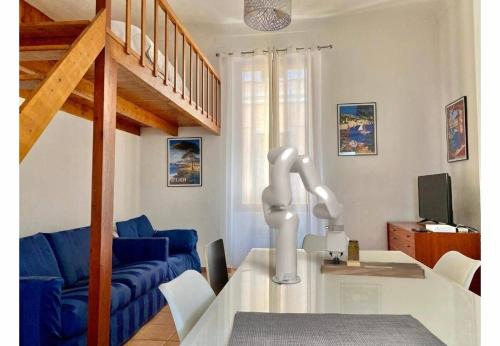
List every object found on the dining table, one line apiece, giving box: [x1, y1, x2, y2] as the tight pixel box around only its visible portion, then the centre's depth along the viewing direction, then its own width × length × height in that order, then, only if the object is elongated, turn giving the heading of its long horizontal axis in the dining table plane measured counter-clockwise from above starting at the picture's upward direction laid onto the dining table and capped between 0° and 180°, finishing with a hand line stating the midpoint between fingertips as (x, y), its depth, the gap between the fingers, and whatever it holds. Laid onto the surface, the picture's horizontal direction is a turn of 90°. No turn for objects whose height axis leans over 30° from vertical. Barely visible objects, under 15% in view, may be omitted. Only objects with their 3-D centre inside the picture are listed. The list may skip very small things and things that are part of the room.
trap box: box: [321, 259, 426, 280], centre depth 180 cm, size 12×46×4 cm, turn 78°
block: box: [345, 260, 361, 266], centre depth 182 cm, size 6×6×5 cm
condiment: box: [347, 239, 360, 262], centre depth 203 cm, size 7×8×12 cm
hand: (336, 265), depth 184 cm, fingers closed
